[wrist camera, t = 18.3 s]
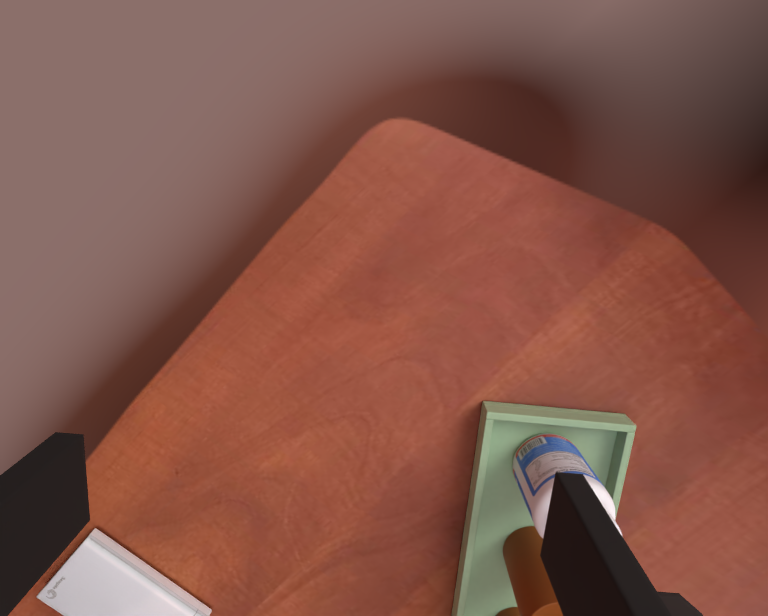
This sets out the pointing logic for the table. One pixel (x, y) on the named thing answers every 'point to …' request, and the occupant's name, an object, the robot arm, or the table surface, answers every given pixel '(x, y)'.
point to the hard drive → (115, 585)
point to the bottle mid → (529, 574)
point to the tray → (503, 497)
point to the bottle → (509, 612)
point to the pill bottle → (552, 474)
